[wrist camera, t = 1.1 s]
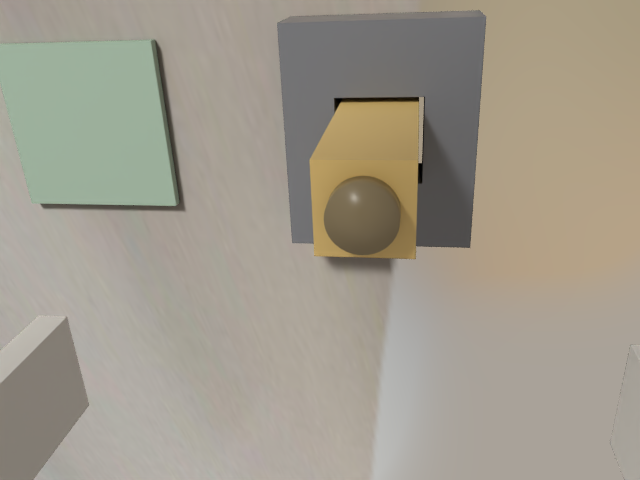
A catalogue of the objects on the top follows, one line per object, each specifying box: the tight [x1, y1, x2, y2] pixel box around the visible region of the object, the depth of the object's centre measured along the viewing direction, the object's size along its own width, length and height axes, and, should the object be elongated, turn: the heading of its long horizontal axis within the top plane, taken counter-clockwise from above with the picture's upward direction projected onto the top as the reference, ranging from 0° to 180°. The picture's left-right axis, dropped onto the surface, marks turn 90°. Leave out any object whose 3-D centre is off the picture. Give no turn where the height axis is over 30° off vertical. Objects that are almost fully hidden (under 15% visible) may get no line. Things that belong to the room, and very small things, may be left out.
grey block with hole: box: [277, 10, 486, 248], centre depth 33 cm, size 12×10×4 cm
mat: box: [0, 40, 179, 206], centre depth 37 cm, size 10×10×1 cm
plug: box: [310, 97, 419, 259], centre depth 28 cm, size 4×4×14 cm
